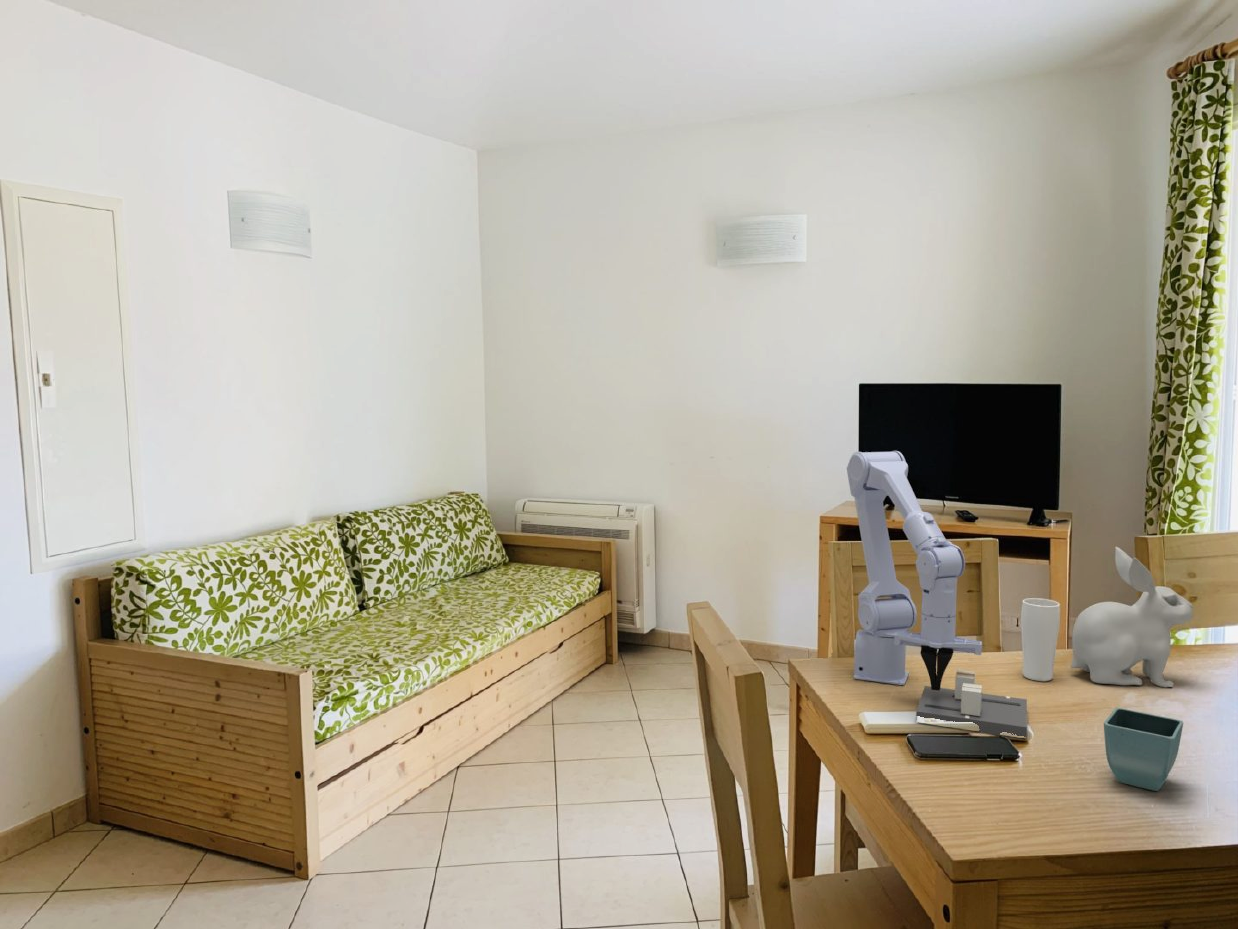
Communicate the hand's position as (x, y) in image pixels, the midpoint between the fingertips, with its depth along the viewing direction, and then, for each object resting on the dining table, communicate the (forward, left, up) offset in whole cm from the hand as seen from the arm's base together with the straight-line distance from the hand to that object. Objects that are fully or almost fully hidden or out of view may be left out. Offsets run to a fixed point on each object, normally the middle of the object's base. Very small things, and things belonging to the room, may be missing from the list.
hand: (935, 688), depth 161 cm
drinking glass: (+17, +24, -3) cm, 29 cm away
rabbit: (+33, +30, -3) cm, 44 cm away
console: (+6, -3, -3) cm, 8 cm away
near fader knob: (+6, -7, -1) cm, 9 cm away
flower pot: (+30, -20, -3) cm, 36 cm away
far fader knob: (+5, 0, -1) cm, 5 cm away
